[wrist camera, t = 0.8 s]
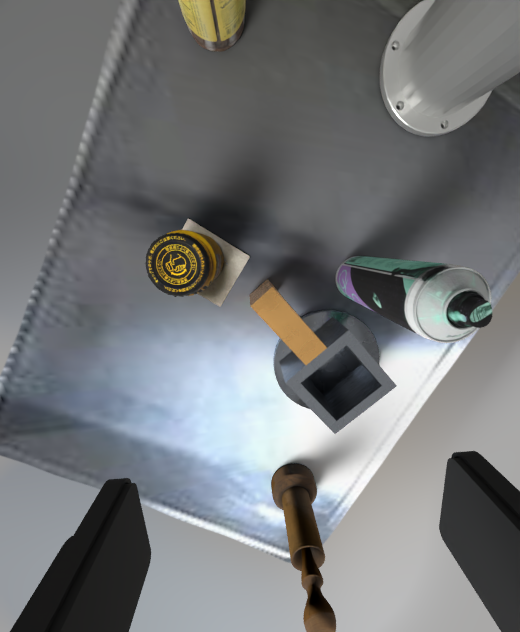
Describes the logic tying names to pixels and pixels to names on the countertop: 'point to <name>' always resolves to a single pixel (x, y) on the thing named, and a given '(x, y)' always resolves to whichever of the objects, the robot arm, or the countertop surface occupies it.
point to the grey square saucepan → (323, 359)
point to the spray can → (419, 295)
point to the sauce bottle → (214, 22)
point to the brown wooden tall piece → (304, 540)
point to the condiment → (194, 263)
